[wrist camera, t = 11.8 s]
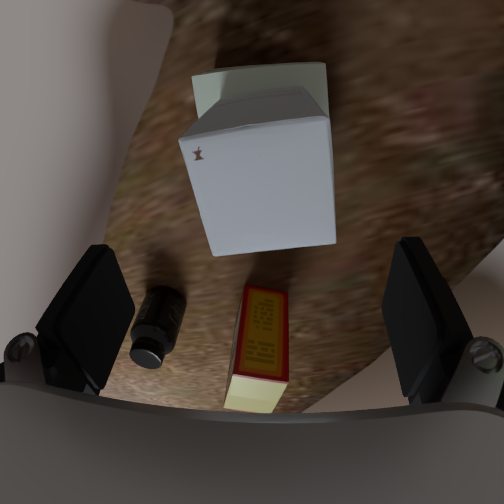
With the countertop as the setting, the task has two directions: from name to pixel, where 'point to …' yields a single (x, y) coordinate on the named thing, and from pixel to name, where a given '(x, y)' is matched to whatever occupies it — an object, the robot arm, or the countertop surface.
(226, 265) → the countertop surface
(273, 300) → the baking soda box
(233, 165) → the supplement box
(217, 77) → the tower top block
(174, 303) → the supplement bottle
